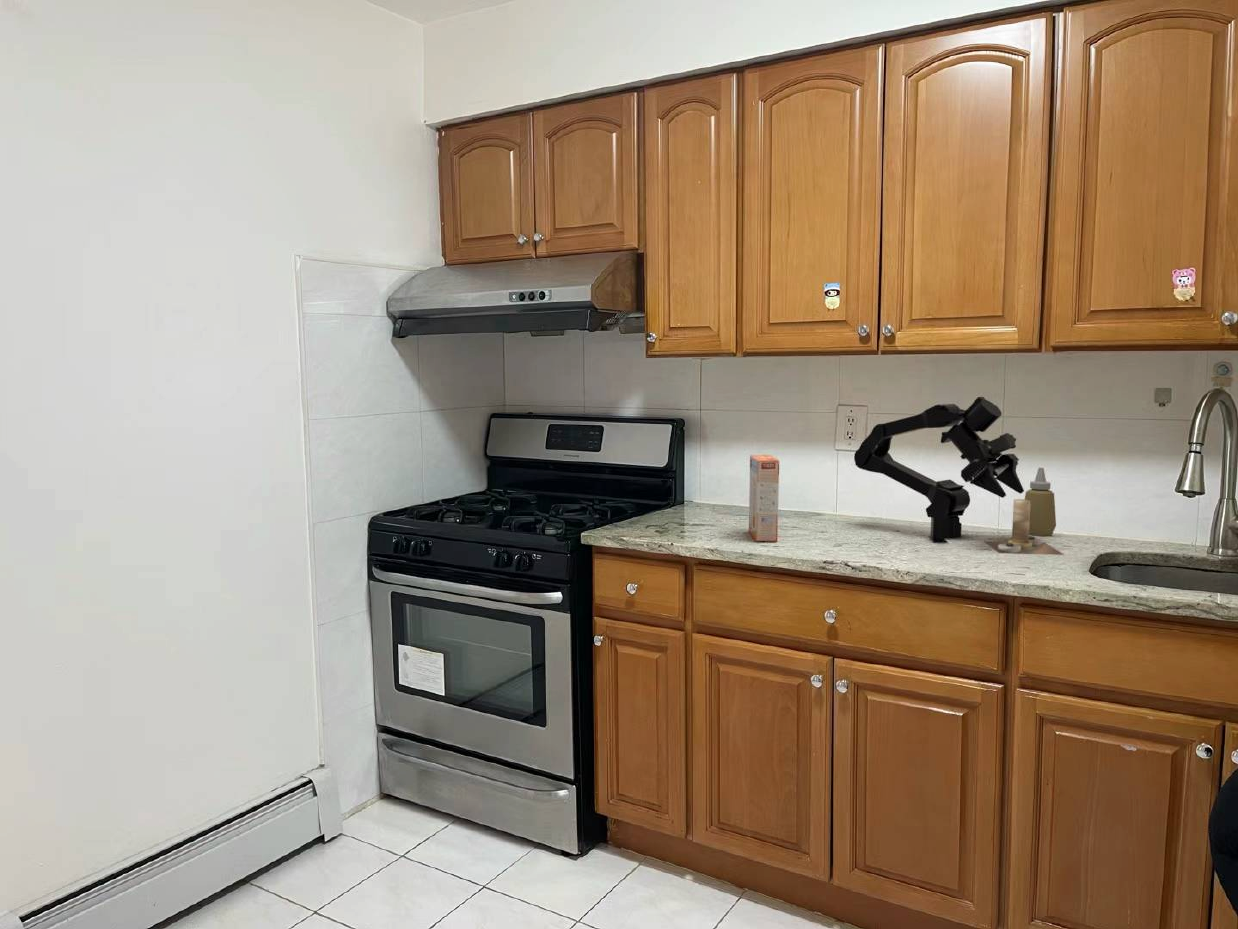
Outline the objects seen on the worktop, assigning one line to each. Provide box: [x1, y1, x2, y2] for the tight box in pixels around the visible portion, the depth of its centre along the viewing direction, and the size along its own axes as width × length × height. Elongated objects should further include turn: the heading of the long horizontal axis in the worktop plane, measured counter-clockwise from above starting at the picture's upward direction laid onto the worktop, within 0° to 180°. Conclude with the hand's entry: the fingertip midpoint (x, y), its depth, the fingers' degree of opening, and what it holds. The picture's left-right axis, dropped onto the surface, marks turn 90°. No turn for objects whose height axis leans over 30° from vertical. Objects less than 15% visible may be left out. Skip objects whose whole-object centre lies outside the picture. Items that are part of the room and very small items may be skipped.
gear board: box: [983, 535, 1065, 556], centre depth 209 cm, size 14×14×3 cm
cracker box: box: [748, 454, 780, 543], centre depth 229 cm, size 14×6×21 cm, turn 179°
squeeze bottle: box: [1024, 467, 1057, 537], centre depth 225 cm, size 8×8×18 cm
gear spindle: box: [1007, 498, 1032, 549], centre depth 208 cm, size 5×5×11 cm
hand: (1013, 494), depth 209 cm, fingers open, 9 cm apart
